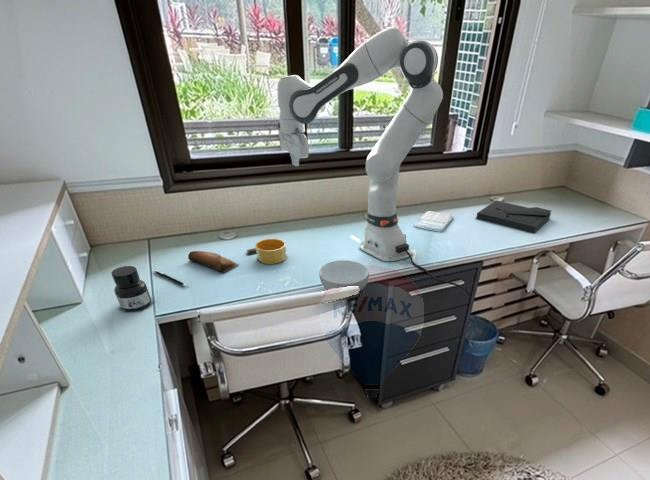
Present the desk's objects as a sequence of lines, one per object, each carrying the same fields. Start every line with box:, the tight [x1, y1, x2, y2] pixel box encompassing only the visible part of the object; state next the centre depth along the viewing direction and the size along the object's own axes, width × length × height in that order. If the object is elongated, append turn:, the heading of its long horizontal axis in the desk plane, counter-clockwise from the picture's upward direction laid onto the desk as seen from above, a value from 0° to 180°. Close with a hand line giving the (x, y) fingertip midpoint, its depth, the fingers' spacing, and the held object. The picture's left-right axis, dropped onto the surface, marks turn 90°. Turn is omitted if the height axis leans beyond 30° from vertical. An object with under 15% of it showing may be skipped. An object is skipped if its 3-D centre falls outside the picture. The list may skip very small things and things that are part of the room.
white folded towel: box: [414, 210, 454, 233], centre depth 191 cm, size 13×20×2 cm, turn 155°
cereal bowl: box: [318, 259, 370, 291], centre depth 138 cm, size 17×17×7 cm
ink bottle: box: [111, 265, 152, 312], centre depth 126 cm, size 10×9×12 cm
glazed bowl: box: [254, 238, 287, 265], centre depth 156 cm, size 11×11×6 cm
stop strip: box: [246, 247, 257, 255], centre depth 163 cm, size 1×14×2 cm, turn 120°
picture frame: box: [475, 200, 552, 234], centre depth 197 cm, size 23×4×28 cm
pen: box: [153, 269, 188, 287], centre depth 142 cm, size 1×19×1 cm, turn 56°
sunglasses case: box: [187, 250, 238, 273], centre depth 152 cm, size 18×7×7 cm
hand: (295, 165), depth 159 cm, fingers closed
